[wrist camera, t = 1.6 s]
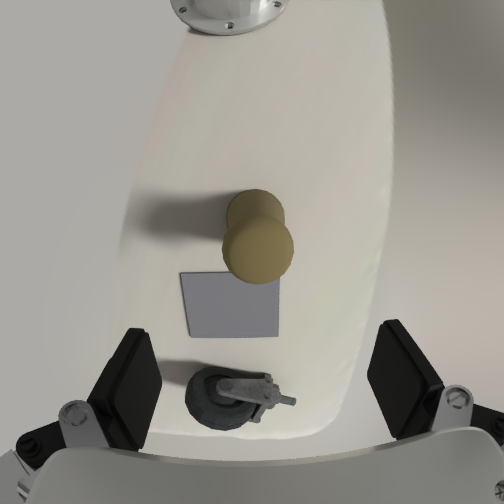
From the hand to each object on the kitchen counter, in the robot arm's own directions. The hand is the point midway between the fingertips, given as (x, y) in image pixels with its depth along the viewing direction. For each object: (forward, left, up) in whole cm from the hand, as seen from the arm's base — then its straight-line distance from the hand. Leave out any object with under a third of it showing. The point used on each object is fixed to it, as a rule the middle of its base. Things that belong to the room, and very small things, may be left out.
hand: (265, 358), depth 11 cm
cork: (0, 0, -21) cm, 21 cm away
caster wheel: (+23, -2, -21) cm, 31 cm away
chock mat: (+10, -3, -20) cm, 23 cm away
